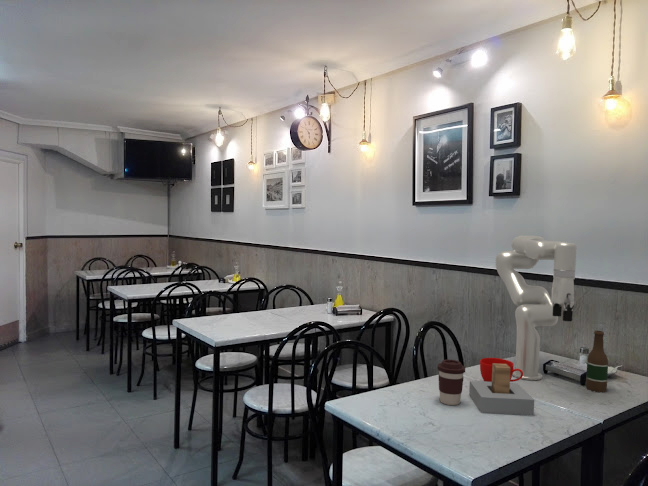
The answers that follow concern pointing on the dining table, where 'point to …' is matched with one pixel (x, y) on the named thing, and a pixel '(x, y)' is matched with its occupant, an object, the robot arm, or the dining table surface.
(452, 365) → the coffee cup
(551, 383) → the dining table surface
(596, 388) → the beer bottle
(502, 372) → the brown rectangular block
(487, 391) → the well block
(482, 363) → the ceramic cup
